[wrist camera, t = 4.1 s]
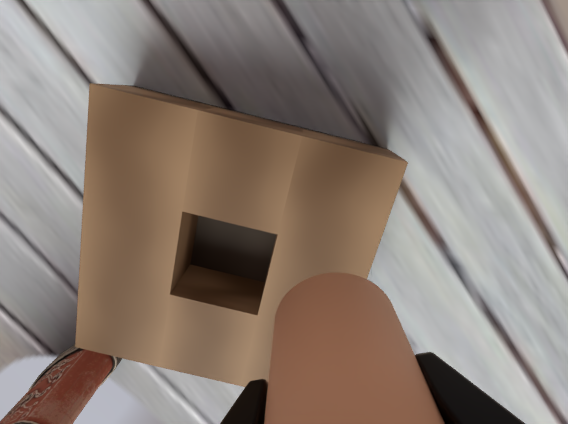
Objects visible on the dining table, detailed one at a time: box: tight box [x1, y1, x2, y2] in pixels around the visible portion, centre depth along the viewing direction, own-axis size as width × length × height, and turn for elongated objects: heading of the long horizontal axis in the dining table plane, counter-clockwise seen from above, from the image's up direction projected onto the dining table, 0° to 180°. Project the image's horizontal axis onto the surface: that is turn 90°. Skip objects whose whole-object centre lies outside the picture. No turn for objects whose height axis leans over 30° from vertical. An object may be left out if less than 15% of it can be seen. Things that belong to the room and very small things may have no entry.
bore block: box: [75, 83, 408, 387], centre depth 19 cm, size 14×14×4 cm
